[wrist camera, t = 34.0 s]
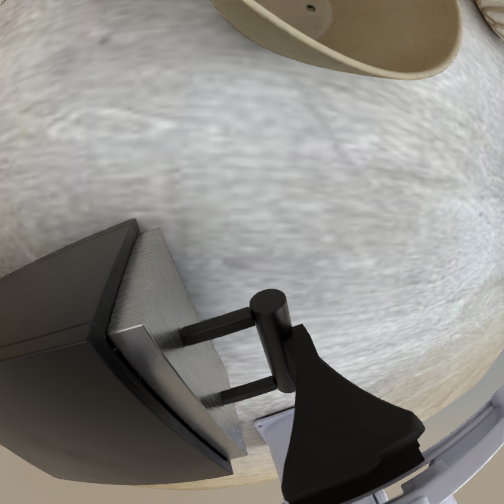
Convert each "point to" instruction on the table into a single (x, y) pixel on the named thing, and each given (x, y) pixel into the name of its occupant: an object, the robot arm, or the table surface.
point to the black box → (85, 376)
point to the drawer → (192, 345)
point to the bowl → (355, 33)
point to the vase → (493, 14)
